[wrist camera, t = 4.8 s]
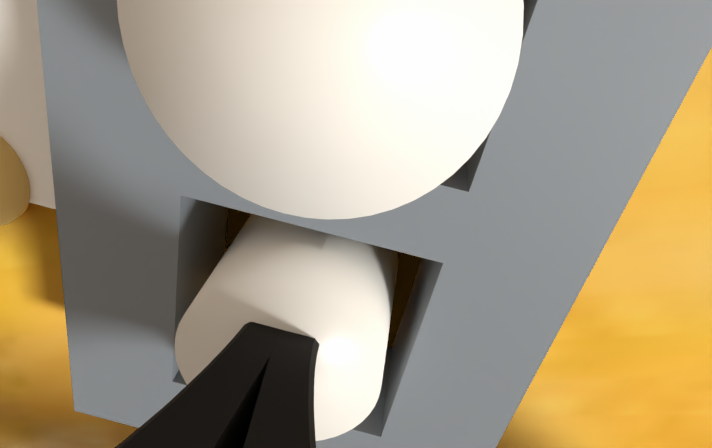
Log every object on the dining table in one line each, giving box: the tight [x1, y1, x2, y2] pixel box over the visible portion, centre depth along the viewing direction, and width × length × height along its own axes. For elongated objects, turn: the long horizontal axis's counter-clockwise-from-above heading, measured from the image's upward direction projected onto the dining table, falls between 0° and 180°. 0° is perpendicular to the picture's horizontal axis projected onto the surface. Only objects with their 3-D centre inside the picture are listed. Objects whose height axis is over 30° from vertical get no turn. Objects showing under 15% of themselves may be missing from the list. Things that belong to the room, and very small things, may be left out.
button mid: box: [117, 0, 524, 220], centre depth 7 cm, size 4×4×4 cm
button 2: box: [175, 214, 398, 441], centre depth 12 cm, size 4×4×4 cm
